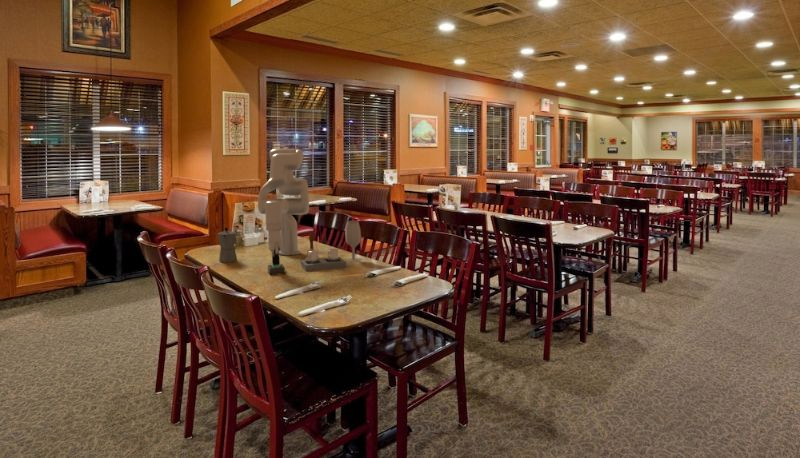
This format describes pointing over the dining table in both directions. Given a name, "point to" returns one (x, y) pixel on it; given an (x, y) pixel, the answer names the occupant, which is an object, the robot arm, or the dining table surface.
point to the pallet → (323, 264)
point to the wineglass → (353, 238)
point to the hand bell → (311, 239)
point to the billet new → (312, 256)
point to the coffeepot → (227, 246)
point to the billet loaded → (332, 255)
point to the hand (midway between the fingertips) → (276, 264)
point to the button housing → (276, 270)
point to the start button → (275, 266)
